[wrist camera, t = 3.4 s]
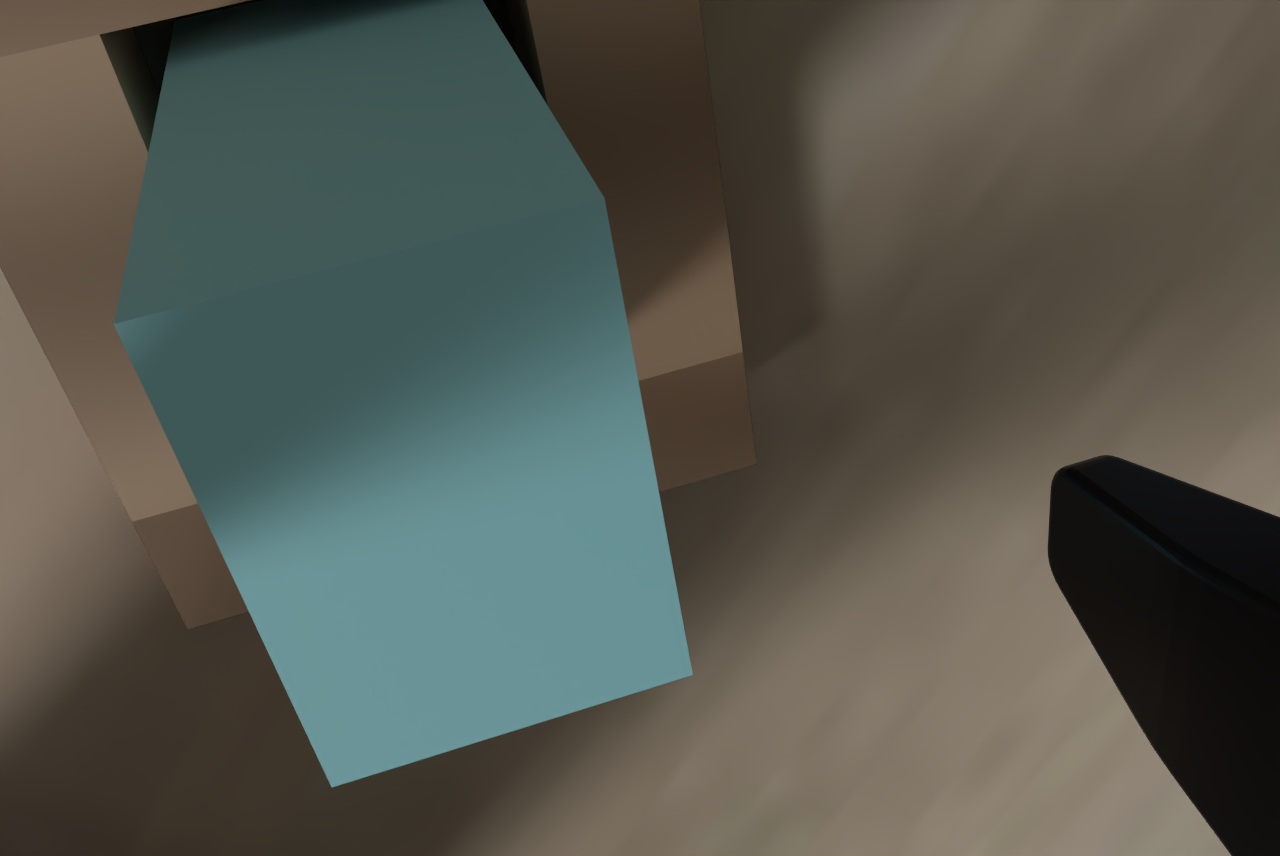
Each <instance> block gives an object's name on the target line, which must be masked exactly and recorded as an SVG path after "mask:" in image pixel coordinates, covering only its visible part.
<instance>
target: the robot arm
mask: <svg viewBox="0 0 1280 856" xmlns="http://www.w3.org/2000/svg"><path fill="white" fill-rule="evenodd" d="M1048 558H1049V564H1050V567H1051V571H1052V573H1053V576H1054V578H1055V581H1056V582H1057V584H1058V586H1059V588H1060V590H1061V591H1062V593H1063V595H1064V597H1065V598H1066V600H1067V602H1068V603H1069V605H1070V607H1071V609H1072V610H1073V612H1074V614H1075V616H1076V617H1077V619H1078V621H1079V622H1080V624H1081V626H1082V628H1083V629H1084V631H1085V633H1086V634H1087V636H1088V638H1089V640H1090V641H1091V643H1092V645H1093V647H1094V648H1095V650H1096V652H1097V653H1098V655H1099V657H1100V659H1101V660H1102V662H1103V664H1104V665H1105V667H1106V669H1107V671H1108V672H1109V674H1110V676H1111V678H1112V679H1113V681H1114V683H1115V684H1116V686H1117V688H1118V690H1119V691H1120V693H1121V695H1122V696H1123V698H1124V700H1125V702H1126V703H1127V705H1128V707H1129V709H1130V710H1131V712H1132V714H1133V715H1134V717H1135V719H1136V721H1137V722H1138V724H1139V726H1140V727H1141V729H1142V730H1143V732H1144V734H1145V735H1146V737H1147V738H1148V740H1149V742H1150V743H1151V745H1152V747H1153V748H1154V750H1155V751H1156V753H1157V754H1158V755H1159V757H1160V758H1161V760H1162V761H1163V763H1164V764H1165V765H1166V767H1167V768H1168V770H1169V771H1170V773H1171V774H1172V775H1173V777H1174V778H1175V780H1176V781H1177V782H1178V784H1179V785H1180V786H1181V788H1182V789H1183V790H1184V792H1185V793H1186V795H1187V796H1188V797H1189V799H1190V800H1191V801H1192V803H1193V804H1194V805H1195V807H1196V808H1197V809H1198V811H1199V812H1200V813H1201V815H1202V816H1203V818H1204V819H1205V820H1206V822H1207V823H1208V824H1209V826H1210V827H1211V828H1212V830H1213V831H1214V832H1215V834H1216V835H1217V837H1218V838H1219V839H1220V841H1221V842H1222V843H1223V845H1224V846H1225V847H1226V849H1227V850H1228V851H1229V853H1230V854H1231V855H1232V856H1280V517H1278V516H1275V515H1272V514H1270V513H1267V512H1264V511H1261V510H1259V509H1256V508H1253V507H1251V506H1248V505H1245V504H1243V503H1240V502H1237V501H1234V500H1232V499H1229V498H1226V497H1224V496H1221V495H1218V494H1216V493H1213V492H1210V491H1208V490H1205V489H1202V488H1199V487H1197V486H1194V485H1191V484H1189V483H1186V482H1183V481H1181V480H1178V479H1175V478H1172V477H1170V476H1167V475H1164V474H1162V473H1159V472H1156V471H1154V470H1151V469H1148V468H1146V467H1143V466H1140V465H1137V464H1135V463H1132V462H1129V461H1127V460H1124V459H1121V458H1118V457H1115V456H1109V455H1104V456H1098V457H1095V458H1091V459H1088V460H1085V461H1081V462H1078V463H1075V464H1071V465H1068V466H1065V467H1063V468H1061V469H1060V470H1058V471H1057V472H1056V474H1055V475H1054V477H1053V480H1052V485H1051V496H1050V516H1049V535H1048Z"/></svg>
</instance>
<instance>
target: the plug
mask: <svg viewBox="0 0 1280 856" xmlns="http://www.w3.org/2000/svg"><path fill="white" fill-rule="evenodd" d="M114 326H115V328H116V330H117V332H118V334H119V337H120V339H121V341H122V343H123V345H124V347H125V349H126V351H127V354H128V356H129V358H130V360H131V362H132V364H133V366H134V368H135V371H136V373H137V375H138V377H139V379H140V381H141V383H142V385H143V388H144V390H145V392H146V394H147V396H148V398H149V400H150V402H151V405H152V407H153V409H154V411H155V413H156V415H157V417H158V419H159V422H160V424H161V426H162V428H163V430H164V432H165V434H166V436H167V439H168V441H169V443H170V445H171V447H172V449H173V451H174V453H175V456H176V458H177V460H178V462H179V464H180V466H181V468H182V470H183V473H184V475H185V477H186V479H187V481H188V483H189V485H190V487H191V490H192V492H193V494H194V496H195V498H196V500H197V502H198V504H199V507H200V509H201V511H202V513H203V515H204V517H205V519H206V521H207V524H208V526H209V528H210V530H211V532H212V534H213V536H214V538H215V541H216V543H217V545H218V547H219V549H220V551H221V553H222V555H223V558H224V560H225V562H226V564H227V566H228V568H229V570H230V573H231V575H232V577H233V579H234V581H235V583H236V585H237V587H238V590H239V592H240V594H241V596H242V598H243V600H244V602H245V604H246V607H247V609H248V611H249V613H250V615H251V617H252V619H253V621H254V624H255V626H256V628H257V630H258V632H259V634H260V636H261V638H262V641H263V643H264V645H265V647H266V649H267V651H268V653H269V655H270V658H271V660H272V662H273V664H274V666H275V668H276V670H277V672H278V675H279V677H280V679H281V681H282V683H283V685H284V687H285V689H286V692H287V694H288V696H289V698H290V700H291V702H292V704H293V706H294V709H295V711H296V713H297V715H298V717H299V719H300V721H301V723H302V726H303V728H304V730H305V732H306V734H307V736H308V738H309V740H310V743H311V745H312V747H313V749H314V751H315V753H316V755H317V757H318V760H319V762H320V764H321V766H322V768H323V770H324V772H325V774H326V777H327V779H328V781H329V783H330V785H331V787H335V786H339V785H342V784H345V783H348V782H351V781H355V780H358V779H361V778H364V777H367V776H371V775H374V774H377V773H380V772H383V771H387V770H390V769H393V768H396V767H399V766H403V765H406V764H409V763H412V762H416V761H419V760H422V759H425V758H428V757H432V756H435V755H438V754H441V753H444V752H448V751H451V750H454V749H457V748H460V747H464V746H467V745H470V744H473V743H476V742H480V741H483V740H486V739H489V738H492V737H496V736H499V735H502V734H505V733H509V732H512V731H515V730H518V729H521V728H525V727H528V726H531V725H534V724H537V723H541V722H544V721H547V720H550V719H553V718H557V717H560V716H563V715H566V714H569V713H573V712H576V711H579V710H582V709H585V708H589V707H592V706H595V705H598V704H602V703H605V702H608V701H611V700H614V699H618V698H621V697H624V696H627V695H630V694H634V693H637V692H640V691H643V690H646V689H650V688H653V687H656V686H659V685H662V684H666V683H669V682H672V681H675V680H678V679H682V678H685V677H688V676H691V675H693V673H692V668H691V663H690V657H689V652H688V646H687V641H686V636H685V630H684V625H683V619H682V614H681V609H680V603H679V598H678V592H677V587H676V582H675V576H674V571H673V565H672V560H671V555H670V549H669V544H668V539H667V533H666V528H665V522H664V517H663V512H662V506H661V501H660V495H659V490H658V485H657V479H656V474H655V468H654V463H653V458H652V452H651V447H650V441H649V436H648V431H647V425H646V420H645V414H644V409H643V404H642V398H641V393H640V387H639V382H638V377H637V371H636V366H635V360H634V355H633V350H632V344H631V339H630V333H629V328H628V323H627V317H626V312H625V306H624V301H623V296H622V290H621V285H620V279H619V274H618V269H617V263H616V258H615V252H614V247H613V242H612V236H611V231H610V225H609V220H608V215H607V209H606V204H605V198H604V196H603V195H602V193H601V192H600V190H599V188H598V187H597V185H596V183H595V182H594V180H593V179H592V177H591V175H590V174H589V172H588V170H587V169H586V167H585V166H584V164H583V162H582V161H581V159H580V157H579V156H578V154H577V153H576V151H575V149H574V148H573V146H572V145H571V143H570V141H569V140H568V138H567V136H566V135H565V133H564V132H563V130H562V128H561V127H560V125H559V123H558V122H557V120H556V119H555V117H554V115H553V114H552V112H551V110H550V109H549V107H548V106H547V104H546V102H545V101H544V99H543V97H542V96H541V94H540V93H539V91H538V89H537V88H536V86H535V85H534V83H533V81H532V80H531V78H530V76H529V75H528V73H527V72H526V70H525V68H524V67H523V65H522V63H521V62H520V60H519V59H518V57H517V55H516V54H515V52H514V50H513V49H512V47H511V46H510V44H509V42H508V41H507V39H506V38H505V36H504V34H503V33H502V31H501V29H500V28H499V26H498V25H497V23H496V21H495V20H494V18H493V16H492V15H491V13H490V12H489V10H488V8H487V7H486V5H485V3H484V2H483V0H263V1H258V2H254V3H250V4H245V5H241V6H236V7H232V8H228V9H223V10H219V11H215V12H210V13H206V14H201V15H197V16H193V17H188V18H184V19H179V20H175V23H174V28H173V33H172V38H171V43H170V48H169V53H168V58H167V63H166V68H165V73H164V78H163V83H162V88H161V93H160V98H159V103H158V107H157V112H156V117H155V122H154V127H153V132H152V137H151V142H150V147H149V152H148V157H147V162H146V167H145V172H144V177H143V182H142V187H141V192H140V197H139V201H138V206H137V211H136V216H135V221H134V226H133V231H132V236H131V241H130V246H129V251H128V256H127V261H126V266H125V271H124V276H123V281H122V286H121V291H120V295H119V300H118V305H117V310H116V315H115V320H114Z"/></svg>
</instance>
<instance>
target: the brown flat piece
mask: <svg viewBox="0 0 1280 856" xmlns="http://www.w3.org/2000/svg"><path fill="white" fill-rule="evenodd" d="M245 1H249V0H0V268H1V270H2V272H3V273H4V275H5V277H6V279H7V281H8V283H9V285H10V287H11V289H12V291H13V293H14V295H15V297H16V299H17V301H18V303H19V304H20V306H21V308H22V310H23V312H24V314H25V316H26V318H27V320H28V322H29V324H30V326H31V328H32V330H33V332H34V333H35V335H36V337H37V339H38V341H39V343H40V345H41V347H42V349H43V351H44V353H45V355H46V357H47V359H48V361H49V362H50V364H51V366H52V368H53V370H54V372H55V374H56V376H57V378H58V380H59V382H60V384H61V386H62V388H63V390H64V391H65V393H66V395H67V397H68V399H69V401H70V403H71V405H72V407H73V409H74V411H75V413H76V415H77V417H78V419H79V421H80V422H81V424H82V426H83V428H84V430H85V432H86V434H87V436H88V438H89V440H90V442H91V444H92V446H93V448H94V450H95V451H96V453H97V455H98V457H99V459H100V461H101V463H102V465H103V467H104V469H105V471H106V473H107V475H108V477H109V479H110V480H111V482H112V484H113V486H114V488H115V490H116V492H117V494H118V496H119V498H120V500H121V502H122V504H123V506H124V508H125V509H126V511H127V513H128V515H129V517H130V519H131V521H132V523H133V525H134V527H135V529H136V531H137V533H138V535H139V537H140V539H141V540H142V542H143V544H144V546H145V548H146V550H147V552H148V554H149V556H150V558H151V560H152V562H153V564H154V566H155V568H156V569H157V571H158V573H159V575H160V577H161V579H162V581H163V583H164V585H165V587H166V589H167V591H168V593H169V595H170V597H171V598H172V600H173V602H174V604H175V606H176V608H177V610H178V612H179V614H180V616H181V618H182V620H183V622H184V624H185V626H186V627H187V629H192V628H195V627H199V626H202V625H205V624H209V623H212V622H216V621H219V620H223V619H226V618H229V617H233V616H236V615H240V614H243V613H247V612H249V611H248V609H247V607H246V604H245V602H244V600H243V598H242V596H241V594H240V592H239V590H238V587H237V585H236V583H235V581H234V579H233V577H232V575H231V573H230V570H229V568H228V566H227V564H226V562H225V560H224V558H223V555H222V553H221V551H220V549H219V547H218V545H217V543H216V541H215V538H214V536H213V534H212V532H211V530H210V528H209V526H208V524H207V521H206V519H205V517H204V515H203V513H202V511H201V509H200V507H199V504H198V502H197V500H196V498H195V496H194V494H193V492H192V490H191V487H190V485H189V483H188V481H187V479H186V477H185V475H184V473H183V470H182V468H181V466H180V464H179V462H178V460H177V458H176V456H175V453H174V451H173V449H172V447H171V445H170V443H169V441H168V439H167V436H166V434H165V432H164V430H163V428H162V426H161V424H160V422H159V419H158V417H157V415H156V413H155V411H154V409H153V407H152V405H151V402H150V400H149V398H148V396H147V394H146V392H145V390H144V388H143V385H142V383H141V381H140V379H139V377H138V375H137V373H136V371H135V368H134V366H133V364H132V362H131V360H130V358H129V356H128V354H127V351H126V349H125V347H124V345H123V343H122V341H121V339H120V337H119V334H118V332H117V330H116V328H115V326H114V320H115V315H116V310H117V305H118V300H119V295H120V291H121V286H122V281H123V276H124V271H125V266H126V261H127V256H128V251H129V246H130V241H131V236H132V231H133V226H134V221H135V216H136V211H137V206H138V201H139V197H140V192H141V187H142V182H143V177H144V172H145V167H146V162H147V157H148V152H149V147H150V142H151V137H152V132H153V127H154V122H155V117H156V112H157V107H158V103H159V98H160V97H159V95H158V92H157V90H156V87H155V85H154V82H153V80H152V77H151V74H150V72H149V69H148V67H147V64H146V62H145V59H144V57H143V54H142V52H141V49H140V47H139V44H138V42H137V39H136V37H135V34H134V31H133V29H132V27H135V26H139V25H144V24H148V23H152V22H157V21H161V20H165V19H170V18H174V17H179V16H183V15H187V14H192V13H196V12H201V11H205V10H209V9H214V8H218V7H223V6H227V5H231V4H236V3H240V2H245ZM506 3H507V7H508V12H509V17H510V21H511V26H512V30H513V35H514V40H515V44H516V49H517V54H518V58H519V60H520V62H521V63H522V65H523V67H524V68H525V70H526V72H527V73H528V75H529V76H530V78H531V80H532V81H533V83H534V85H535V86H536V88H537V89H538V91H539V93H540V94H541V96H542V97H543V99H544V101H545V102H546V104H547V106H548V107H549V109H550V110H551V112H552V114H553V115H554V117H555V119H556V120H557V122H558V123H559V125H560V127H561V128H562V130H563V132H564V133H565V135H566V136H567V138H568V140H569V141H570V143H571V145H572V146H573V148H574V149H575V151H576V153H577V154H578V156H579V157H580V159H581V161H582V162H583V164H584V166H585V167H586V169H587V170H588V172H589V174H590V175H591V177H592V179H593V180H594V182H595V183H596V185H597V187H598V188H599V190H600V192H601V193H602V195H603V196H604V198H605V204H606V209H607V215H608V220H609V225H610V231H611V236H612V242H613V247H614V252H615V258H616V263H617V269H618V274H619V279H620V285H621V290H622V296H623V301H624V306H625V312H626V317H627V323H628V328H629V333H630V339H631V344H632V350H633V355H634V360H635V366H636V371H637V377H638V382H639V387H640V393H641V398H642V404H643V409H644V414H645V420H646V425H647V431H648V436H649V441H650V447H651V452H652V458H653V463H654V468H655V474H656V479H657V485H658V490H659V492H663V491H666V490H670V489H673V488H676V487H680V486H683V485H687V484H690V483H694V482H697V481H701V480H704V479H707V478H711V477H714V476H718V475H721V474H725V473H728V472H731V471H735V470H738V469H742V468H745V467H749V466H752V465H756V464H757V462H756V454H755V446H754V438H753V429H752V421H751V413H750V405H749V397H748V389H747V381H746V373H745V365H744V356H743V348H742V340H741V332H740V324H739V316H738V308H737V300H736V292H735V284H734V275H733V267H732V259H731V251H730V243H729V235H728V227H727V219H726V211H725V202H724V194H723V186H722V178H721V170H720V162H719V154H718V146H717V138H716V130H715V121H714V113H713V105H712V97H711V89H710V81H709V73H708V65H707V57H706V48H705V40H704V32H703V24H702V16H701V8H700V0H506Z"/></svg>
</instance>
